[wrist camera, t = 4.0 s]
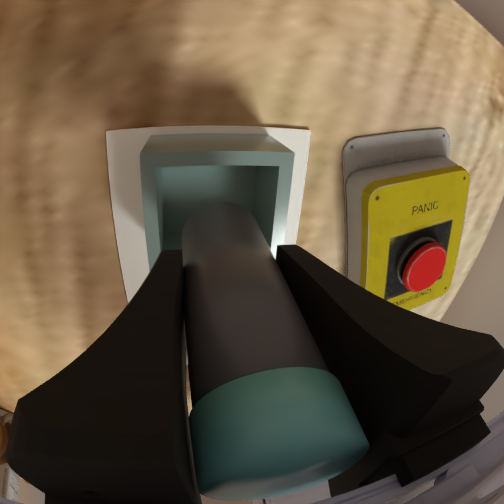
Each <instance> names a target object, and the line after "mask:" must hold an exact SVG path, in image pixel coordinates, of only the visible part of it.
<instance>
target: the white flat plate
mask: <svg viewBox="0 0 504 504" xmlns="http://www.w3.org/2000/svg"><path fill="white" fill-rule="evenodd" d="M199 133H230V134H265V135H270V136H271V137H273V138H274V139H276V140H277V141H279V142H280V143H282V144H283V145H284V146H286V147H287V148H289V149H290V150H292V151H293V152H294V153H295V156H294V165H293V173H292V182H291V190H290V199H289V207H288V215H287V223H286V231H285V238H284V245H291V244H295V245H296V239H297V233H298V226H299V219H300V212H301V205H302V198H303V190H304V183H305V175H306V168H307V160H308V152H309V143H310V135H311V130H305V129H293V128H278V127H259V126H218V125H204V126H165V127H146V128H131V129H119V130H108V131H106V141H107V158H108V171H109V182H110V192H111V201H112V210H113V218H114V225H115V232H116V239H117V245H118V252H119V258H120V263H121V269H122V274H123V280H124V285H125V290H126V295H127V300H128V303H129V302H130V300H131V299H132V298H133V296H134V295H135V294H136V292H137V291H138V289H139V288H140V286H141V285H142V283H143V282H144V280H145V279H146V277H147V275H148V274H149V272H150V271H149V263H148V254H147V246H146V236H145V226H144V215H143V203H142V189H141V172H140V152H141V150H142V149H143V147H144V145H145V144H146V142H147V140H148V139H149V137H150V136H151V135H164V134H199ZM186 365H188V358H187V363H186Z"/></svg>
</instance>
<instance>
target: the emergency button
mask: <svg viewBox="0 0 504 504" xmlns="http://www.w3.org/2000/svg"><path fill="white" fill-rule="evenodd" d="M449 159H450V137H449V134H448V133H447V131H446V130H444V129H441V128H438V129H425V130H415V131H405V132H396V133H387V134H379V135H371V136H364V137H357V138H353V139H351V140H349V141H348V142H347V143H346V145H345V147H344V148H343V155H342V162H343V177H344V197H345V225H346V278H348V279H349V280H351V281H353V282H354V283H356V284H358V285H359V286H361V287H363V288H364V289H366V290H368V291H369V292H371V293H373V294H375V295H377V296H379V297H381V298H383V299H385V300H387V301H389V302H391V303H393V304H395V305H397V306H399V307H402V308H404V309H406V310H411V309H413V308H416V307H418V306H420V305H423V304H425V303H427V302H430V301H432V300H434V299H436V298H439V297H441V296H442V295H444V294H445V293H446V292H447V291H448V289H449V287H450V285H451V281H452V277H453V273H454V269H455V265H456V260H457V256H458V251H459V247H460V242H461V236H462V231H463V225H464V220H465V213H466V207H467V200H468V192H469V184H470V175H469V173H468V172H467V171H466V170H465V169H464V168H463V167H461V166H459V165H457V164H456V163H454V162H453V161H451V160H449Z"/></svg>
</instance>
